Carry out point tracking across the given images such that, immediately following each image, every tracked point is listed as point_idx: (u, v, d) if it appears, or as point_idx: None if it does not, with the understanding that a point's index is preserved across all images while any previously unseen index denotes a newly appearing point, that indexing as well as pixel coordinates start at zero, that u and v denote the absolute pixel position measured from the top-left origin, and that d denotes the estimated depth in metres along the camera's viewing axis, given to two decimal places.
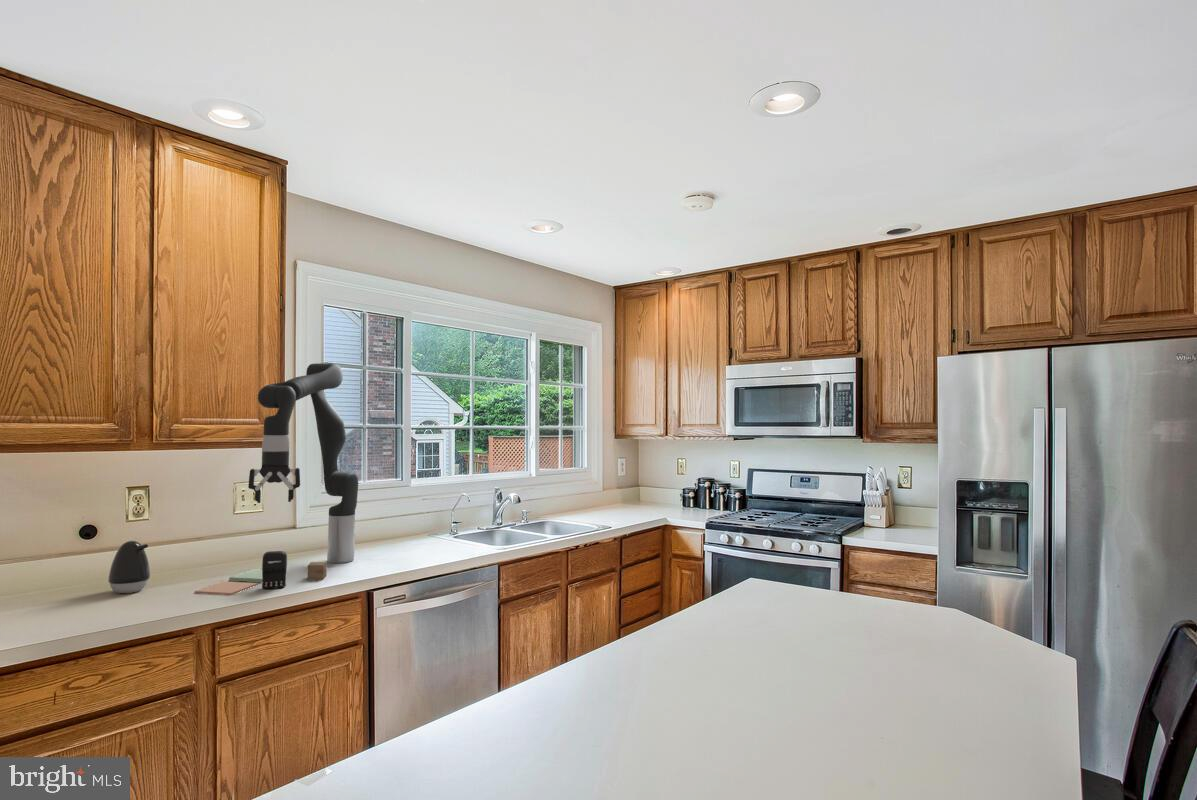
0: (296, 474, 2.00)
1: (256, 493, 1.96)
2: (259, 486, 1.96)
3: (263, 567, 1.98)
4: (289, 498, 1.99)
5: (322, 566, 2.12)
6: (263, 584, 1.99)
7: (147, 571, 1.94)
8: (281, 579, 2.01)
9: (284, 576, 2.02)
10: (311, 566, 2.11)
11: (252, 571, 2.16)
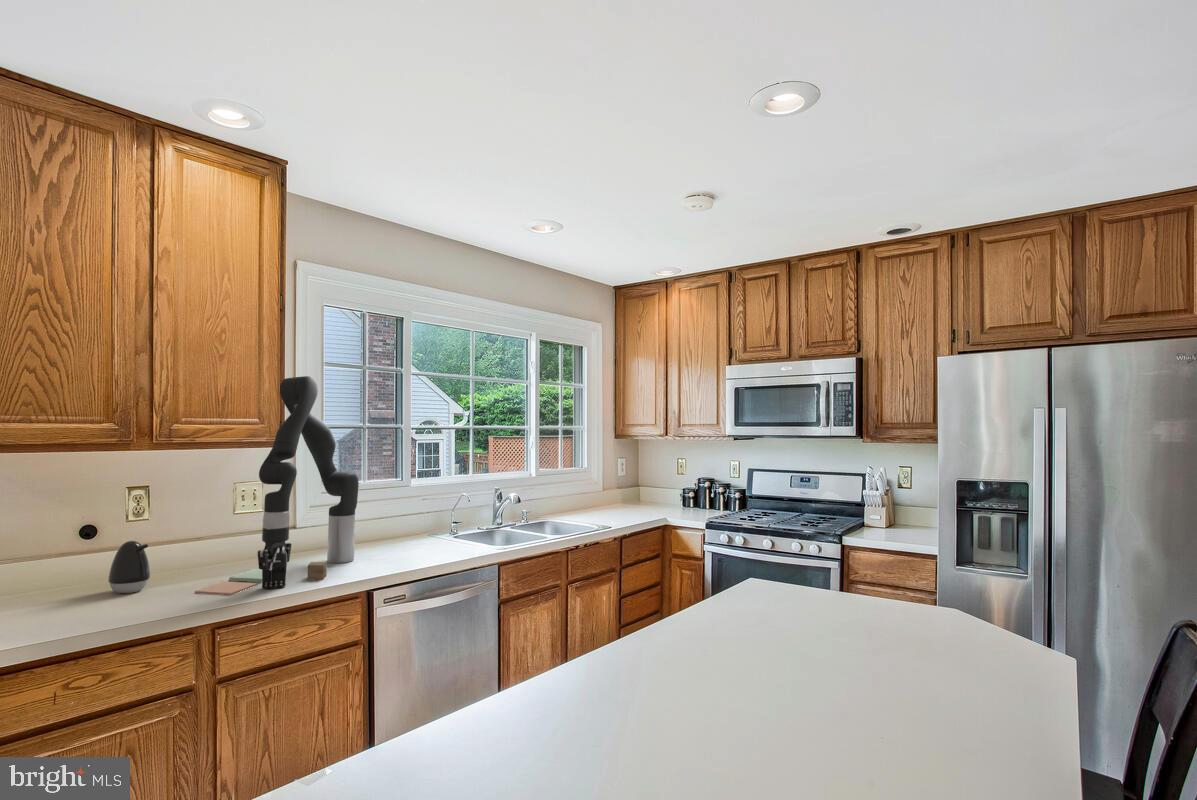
0: (289, 549, 2.06)
1: (268, 573, 1.97)
2: (271, 565, 1.97)
3: None
4: None
5: (322, 566, 2.12)
6: (263, 584, 1.99)
7: (147, 571, 1.94)
8: (281, 579, 2.01)
9: (284, 576, 2.02)
10: (311, 566, 2.11)
11: (252, 571, 2.16)
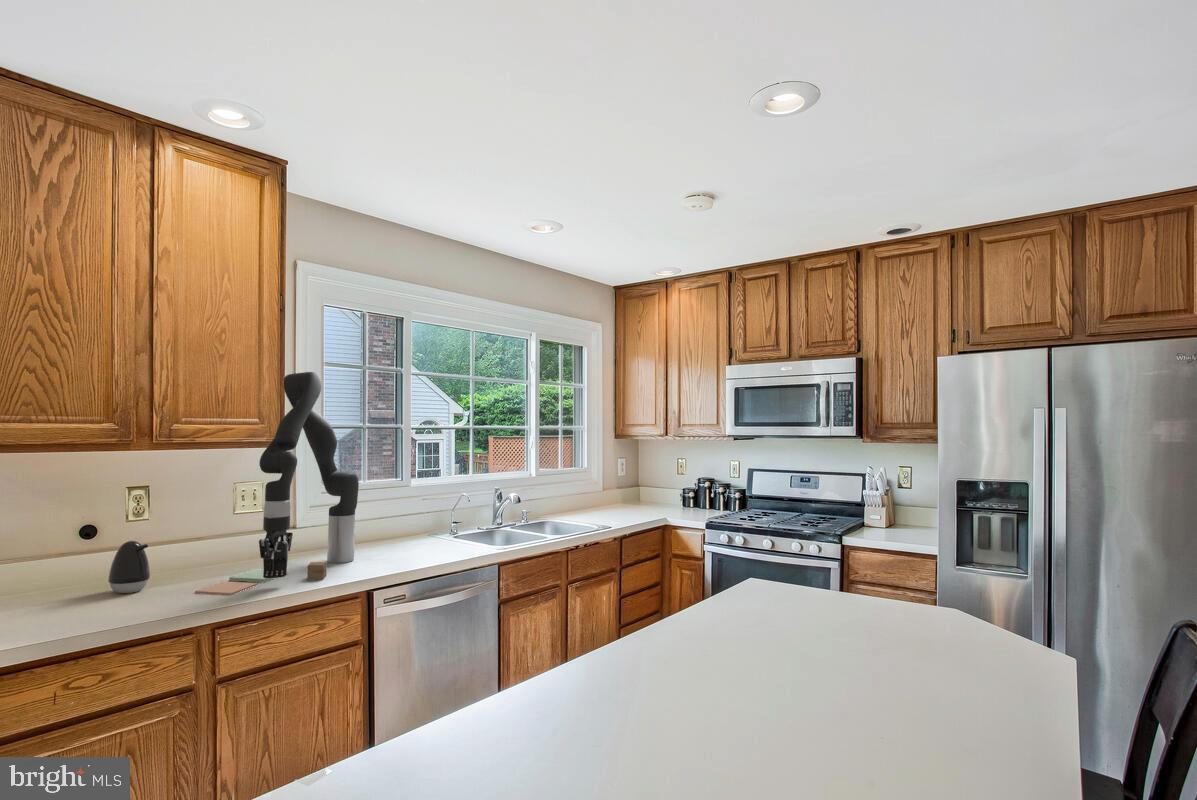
0: (290, 538, 2.07)
1: (270, 562, 1.97)
2: (273, 554, 1.98)
3: None
4: None
5: (322, 566, 2.12)
6: (264, 573, 2.00)
7: (147, 571, 1.94)
8: (282, 568, 2.02)
9: (285, 566, 2.02)
10: (311, 566, 2.11)
11: (252, 571, 2.16)
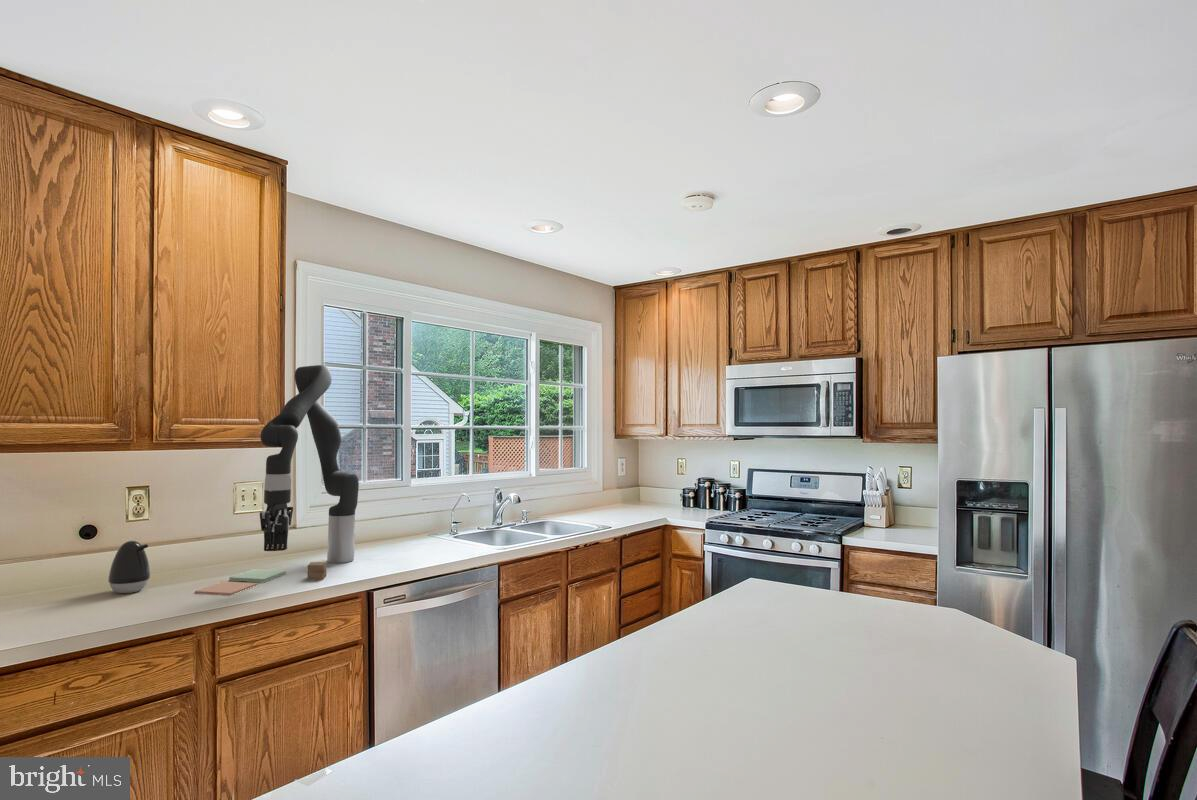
0: (291, 512, 2.07)
1: (271, 534, 1.98)
2: (274, 527, 1.98)
3: None
4: None
5: (322, 566, 2.12)
6: (265, 546, 2.00)
7: (147, 571, 1.94)
8: (282, 542, 2.02)
9: (285, 539, 2.02)
10: (311, 566, 2.11)
11: (252, 571, 2.16)
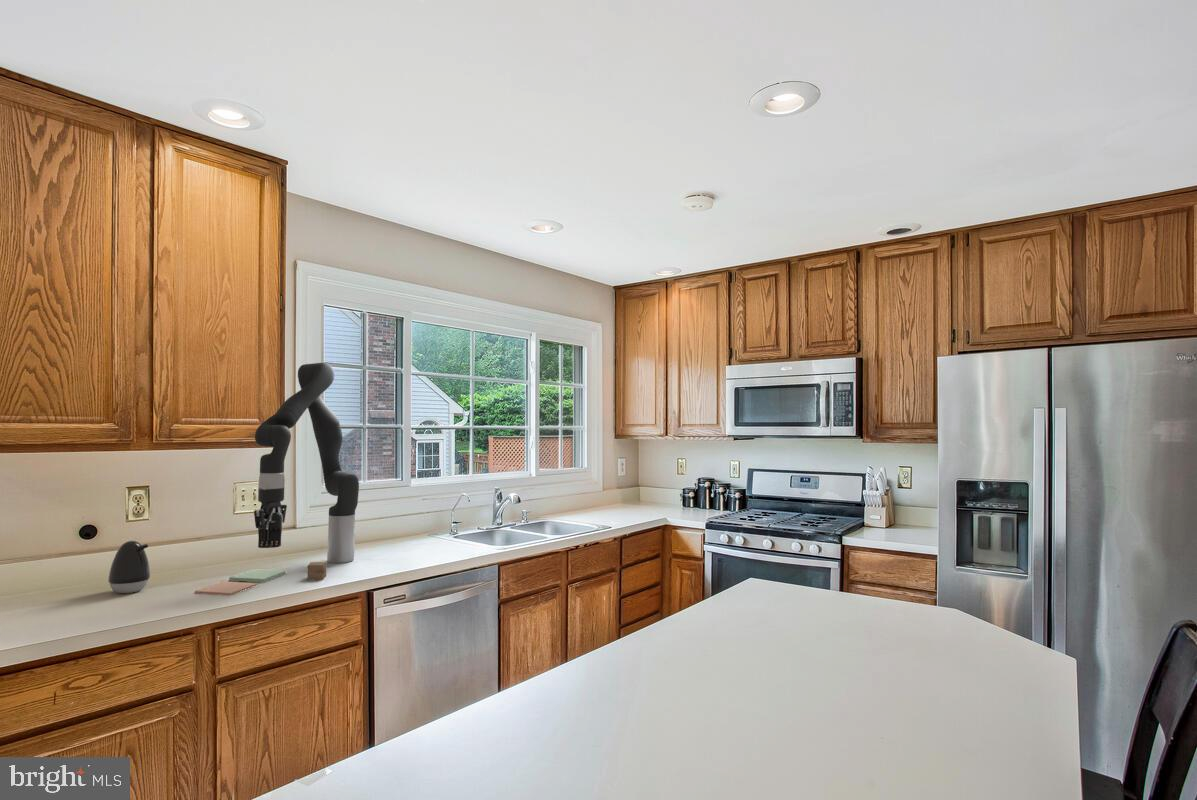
0: (284, 510, 2.12)
1: (265, 532, 2.03)
2: (268, 524, 2.04)
3: None
4: None
5: (322, 566, 2.12)
6: (259, 543, 2.05)
7: (147, 571, 1.94)
8: (276, 539, 2.07)
9: (279, 536, 2.08)
10: (311, 566, 2.11)
11: (252, 571, 2.16)
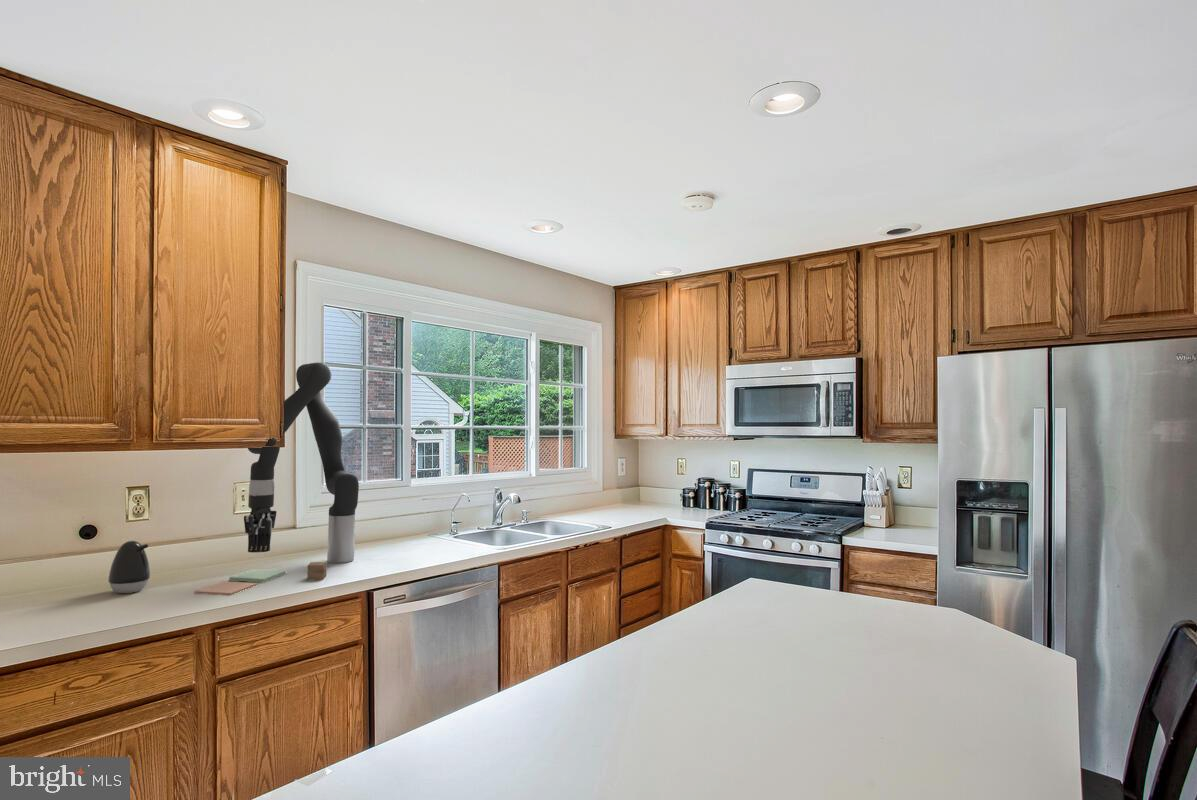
0: (274, 516, 2.19)
1: (254, 537, 2.10)
2: (257, 529, 2.11)
3: None
4: None
5: (322, 566, 2.12)
6: (248, 548, 2.12)
7: (147, 571, 1.94)
8: (266, 544, 2.14)
9: (268, 541, 2.15)
10: (311, 566, 2.11)
11: (252, 571, 2.16)
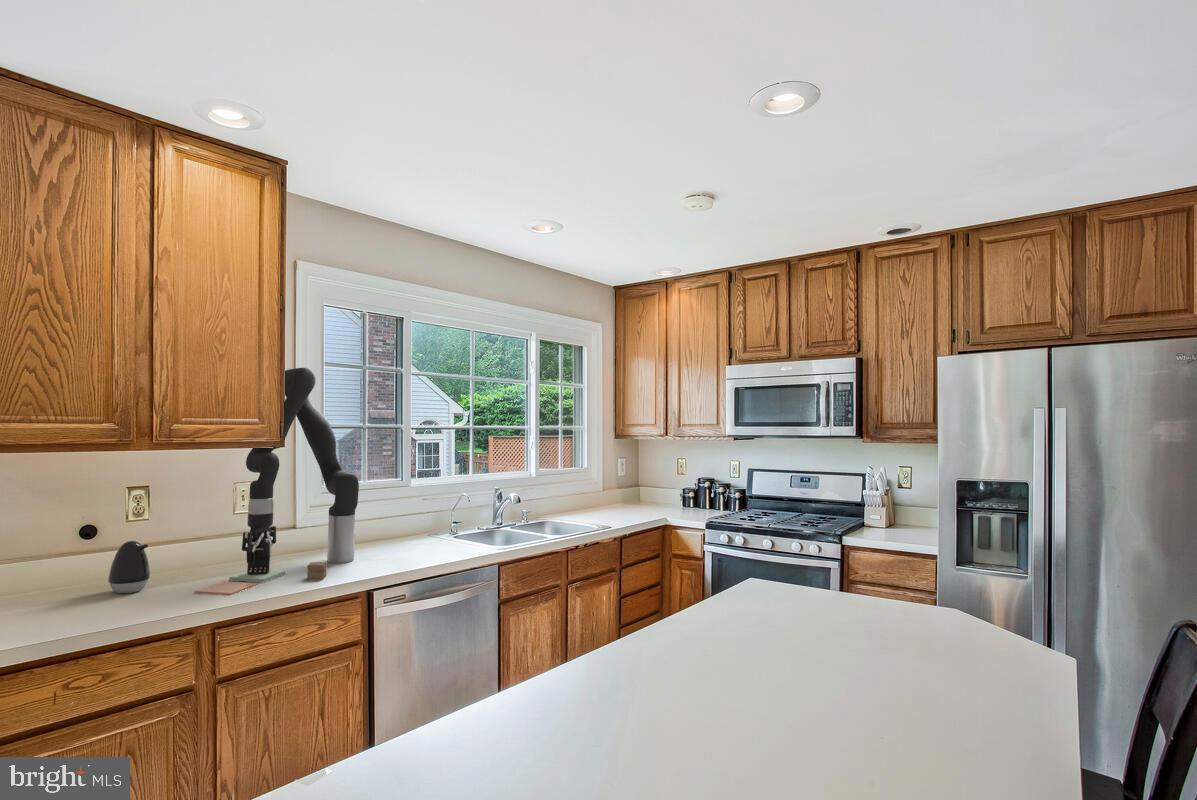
0: (274, 531, 2.19)
1: (251, 554, 2.08)
2: (254, 547, 2.09)
3: None
4: None
5: (322, 566, 2.12)
6: (248, 570, 2.12)
7: (147, 571, 1.94)
8: (265, 566, 2.14)
9: (267, 563, 2.14)
10: (311, 566, 2.11)
11: None
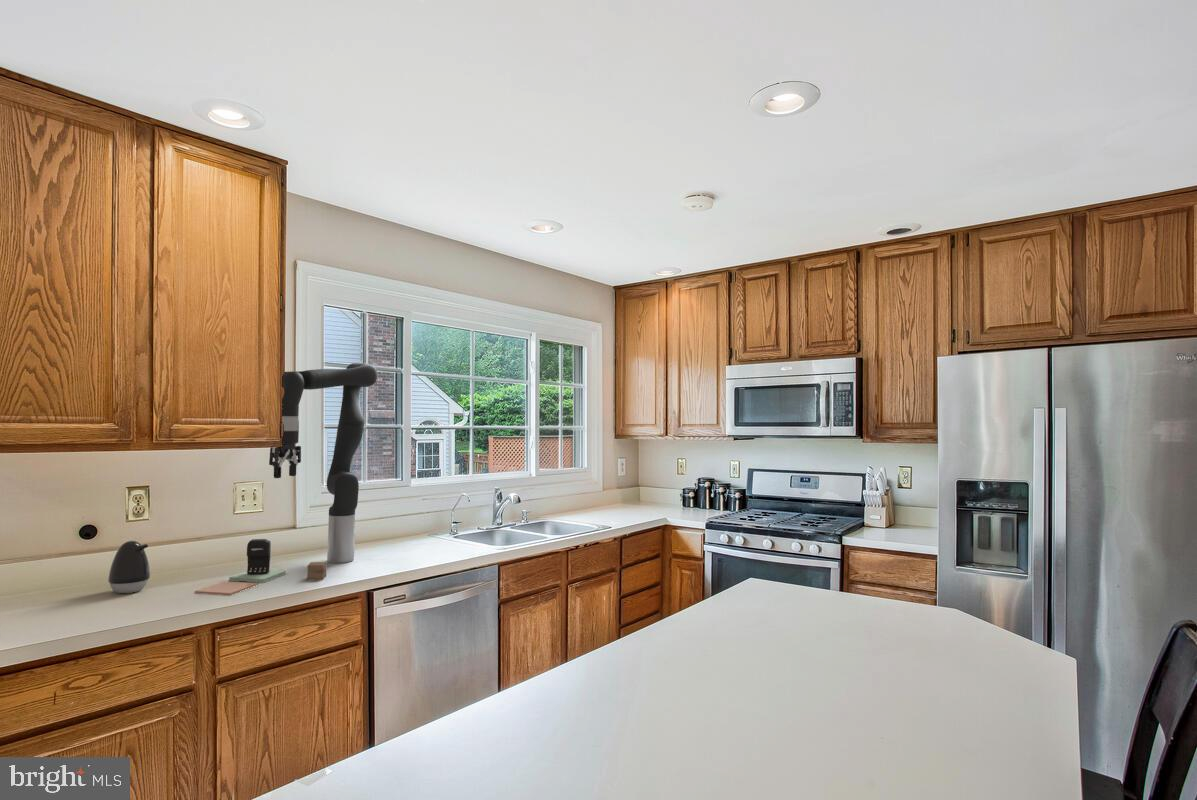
0: (299, 451, 2.25)
1: (278, 469, 2.14)
2: (281, 462, 2.14)
3: (247, 554, 2.11)
4: (295, 472, 2.23)
5: (322, 566, 2.12)
6: (248, 570, 2.12)
7: (147, 571, 1.94)
8: (265, 566, 2.14)
9: (268, 563, 2.14)
10: (311, 566, 2.11)
11: None
